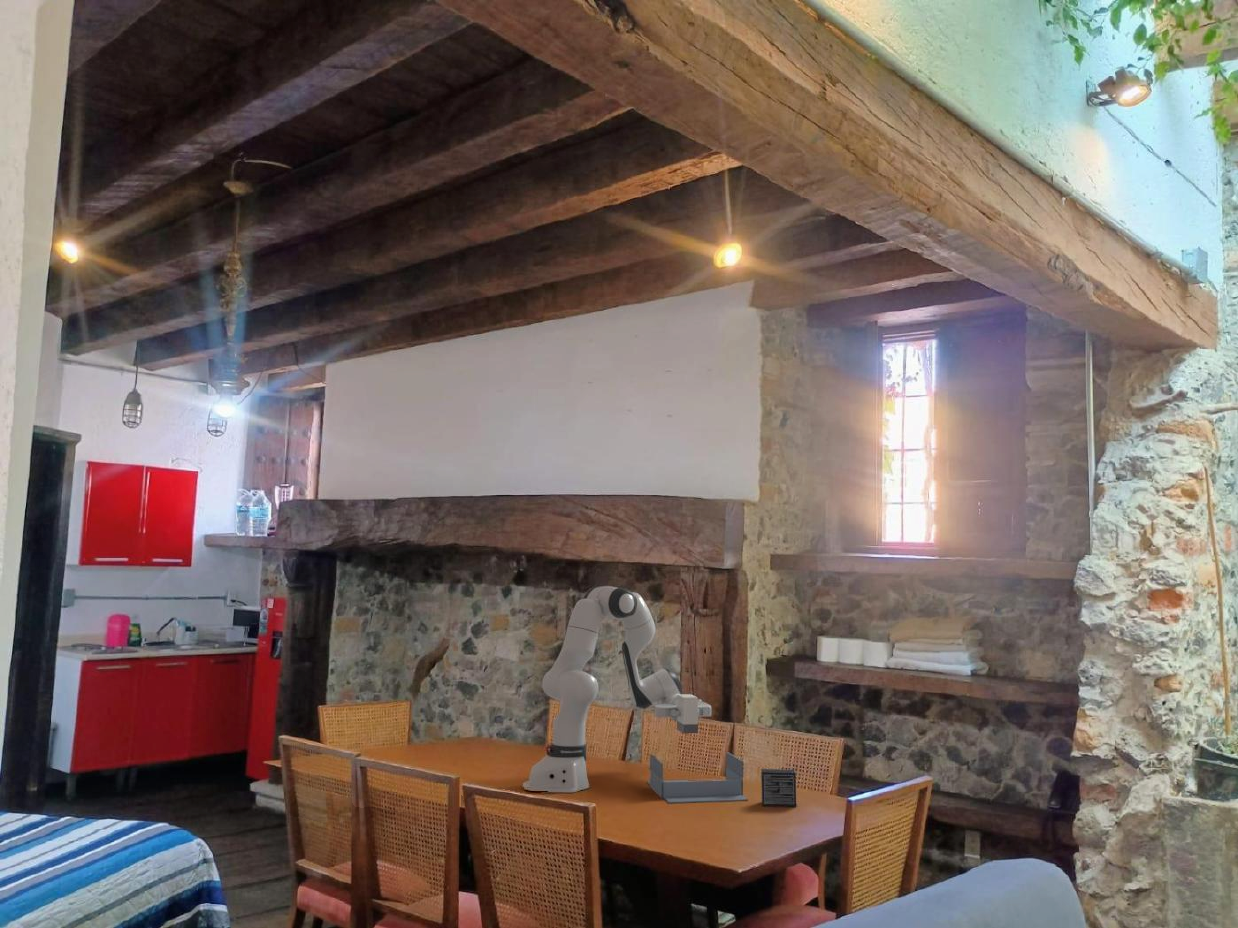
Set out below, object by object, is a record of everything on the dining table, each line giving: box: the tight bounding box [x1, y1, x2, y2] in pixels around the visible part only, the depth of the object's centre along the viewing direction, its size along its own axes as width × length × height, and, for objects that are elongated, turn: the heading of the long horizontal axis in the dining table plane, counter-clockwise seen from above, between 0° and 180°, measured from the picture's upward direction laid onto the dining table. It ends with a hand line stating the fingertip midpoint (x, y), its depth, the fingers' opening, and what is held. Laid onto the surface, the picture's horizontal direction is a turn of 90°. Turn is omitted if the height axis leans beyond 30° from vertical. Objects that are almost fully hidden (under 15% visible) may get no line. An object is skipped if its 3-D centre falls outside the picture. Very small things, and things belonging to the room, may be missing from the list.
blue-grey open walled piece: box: [646, 751, 749, 804], centre depth 322 cm, size 28×32×11 cm
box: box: [676, 693, 699, 735], centre depth 334 cm, size 5×9×12 cm, turn 11°
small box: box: [760, 768, 798, 808], centre depth 303 cm, size 11×6×10 cm, turn 84°
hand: (688, 713), depth 333 cm, fingers closed on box, 5 cm apart
